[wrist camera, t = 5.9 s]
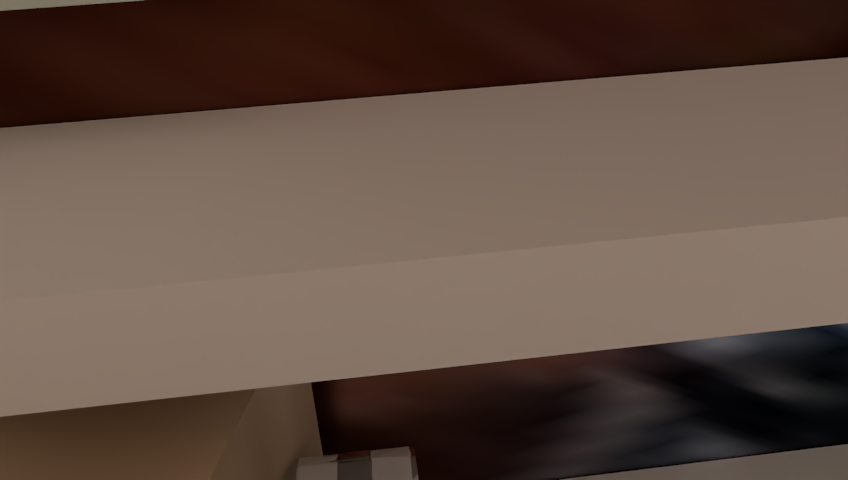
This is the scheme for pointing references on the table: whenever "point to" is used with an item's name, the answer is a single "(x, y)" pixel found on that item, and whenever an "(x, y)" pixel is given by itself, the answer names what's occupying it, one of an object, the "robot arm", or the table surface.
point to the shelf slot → (425, 236)
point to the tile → (49, 3)
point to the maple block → (166, 438)
